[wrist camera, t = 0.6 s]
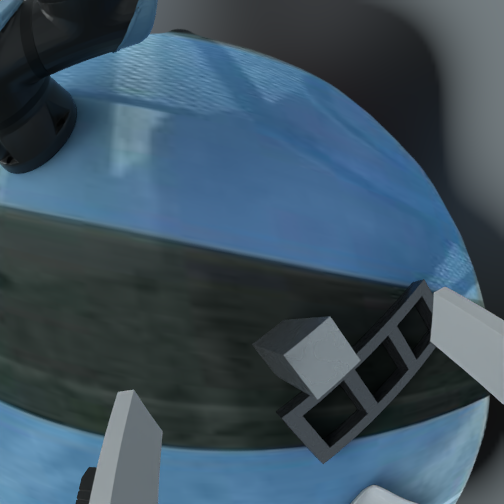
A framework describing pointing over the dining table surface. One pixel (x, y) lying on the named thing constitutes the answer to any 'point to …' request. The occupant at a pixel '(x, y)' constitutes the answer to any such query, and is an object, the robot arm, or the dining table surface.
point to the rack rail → (355, 387)
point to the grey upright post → (308, 353)
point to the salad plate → (379, 497)
